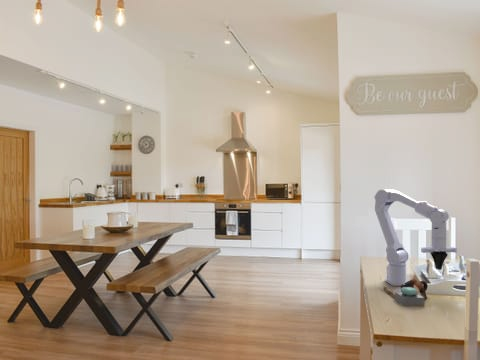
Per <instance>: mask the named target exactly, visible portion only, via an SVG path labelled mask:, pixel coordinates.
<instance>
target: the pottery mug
mask: <svg viewBox="0 0 480 360" xmlns="http://www.w3.org/2000/svg"><path fill="white" fill-rule="evenodd" d="M415 286H416V288H417V289H418V291H419V293H420V294H419V295H421V296H422V297H424V300H425V299H427V298H428V296H427V292H426V291H427V290H428V283H427V281H425V280H419V281H418V280H417V279H416V278H413V279H410V280H408V281H406V283H405V285H403V284H402V285H401V286H399V287H400V289H401V288H403V287H411V288H415Z"/></svg>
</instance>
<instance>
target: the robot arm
mask: <svg viewBox="0 0 480 360" xmlns="http://www.w3.org/2000/svg"><path fill="white" fill-rule="evenodd" d="M374 200H375V201H374V210H375V211H374V212H375V214H376V217H377V219H378V222H379V225H380V228H381V231H382V233H383V237H384V240H385V242H386V248H385V252H386V260H387V262H388V264H387V266H386V278H385V279H384V281H385V282H386V283H388V284H390V285H391V286H394V287H398V286H399V287H400V286H401V285H402V284H403V285H405V283H406V282H407V263H406V262H407V261H408V260H409V253H408V251H407V250H406V249H405V247H404V245H403V244H402V243H400V241H399V238H398V235H397V232H396V230H395V227H394V224H393V222H392V219H391V216H390V213H389V209H390V207H391V206H392V204H393V203H395V202H398V203H400V204H404V205H405V206H408V207H410V208H412V209H414V211H415V213H416V214H418V215H420V216H423V217H425V218H427V219H429V220H430V222H431V246H427V247H421V248H420V250H421V251H420V252H421V253H422V254H423V253H424V254H425V253H430V255H431V258H432V259H433V263H434V264H435V269H436V270H437V271H439V270H440V271H441V270H443V269H442V268H443V264H444V263H445V260H446V258H447V257H448V255H449V254H448V253H458V252H457V249H458V248H457V247H454V246H451V247H449V246H447V221H448V220H449V212H447V211H446V210H445V209H444V208H439V206H434V205H432V204H429V203H428V201H426V200H424V201H423V200H421V201H417V200H415V199H414V198H411V197H409V196H408V195H406V194H404V193H403V192H401V191H398V190H395V189H394V188H389V189H381V188H380V189H379V190H377V192H376V193H375V195H374Z"/></svg>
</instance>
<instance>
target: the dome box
mask: <svg viewBox="0 0 480 360" xmlns="http://www.w3.org/2000/svg"><path fill="white" fill-rule="evenodd" d="M394 293H395V298H394V299H395V300H396V301H397V302H399V304H401V305H402V306H404V307H405V306H406V307H407V306H409V307H410V306H412V307H415V306H425V299H424V297H422V296H421V295H420V294H419V293H418V294H417V295H412V296H407V294H403V293H402V292H401V291H395V292H394Z"/></svg>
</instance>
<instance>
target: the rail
mask: <svg viewBox="0 0 480 360" xmlns="http://www.w3.org/2000/svg"><path fill="white" fill-rule="evenodd" d="M383 291H384V292H386V293H387V294H388V295H390V296H391V297H392V298H394V299H395V292H394V291H393V290H391V289H390V288H389V287H387V286H383Z"/></svg>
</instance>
